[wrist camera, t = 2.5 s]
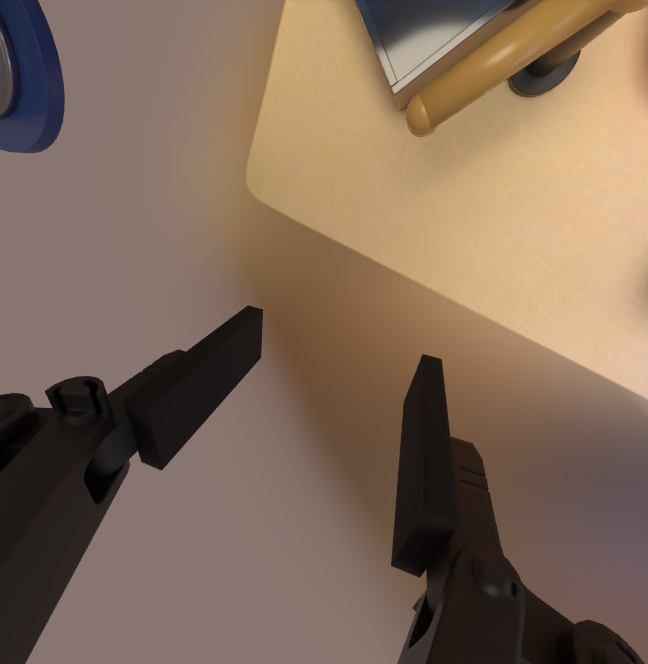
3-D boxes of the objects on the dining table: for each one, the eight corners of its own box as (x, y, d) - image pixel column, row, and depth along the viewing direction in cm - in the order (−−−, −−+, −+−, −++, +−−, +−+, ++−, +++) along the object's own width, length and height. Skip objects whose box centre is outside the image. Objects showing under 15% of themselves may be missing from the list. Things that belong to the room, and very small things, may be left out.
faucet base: (499, 51, 24) (563, -49, 13) (568, 2, 22) (712, -168, 11) (517, 110, 26) (588, 62, 15) (583, 69, 23) (725, -24, 12)
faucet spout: (678, -113, 12) (751, -195, 9) (689, -20, 13) (759, -70, 10) (397, 101, 18) (393, 88, 15) (419, 154, 19) (419, 151, 16)
